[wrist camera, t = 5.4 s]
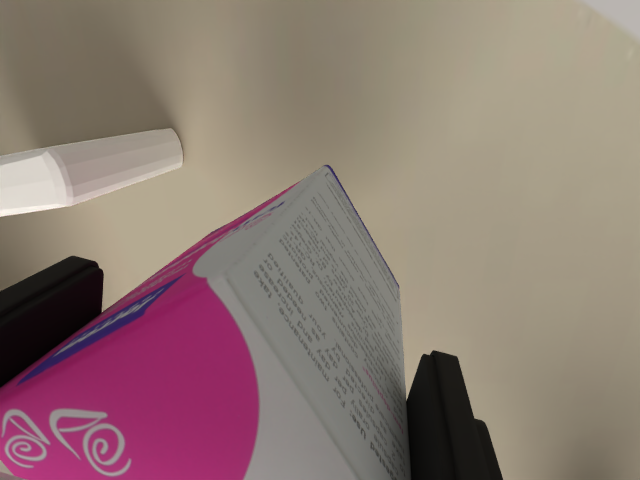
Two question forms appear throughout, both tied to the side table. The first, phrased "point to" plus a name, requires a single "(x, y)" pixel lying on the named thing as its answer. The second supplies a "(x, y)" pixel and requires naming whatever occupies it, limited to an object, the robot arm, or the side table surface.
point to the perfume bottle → (84, 169)
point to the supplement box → (231, 362)
